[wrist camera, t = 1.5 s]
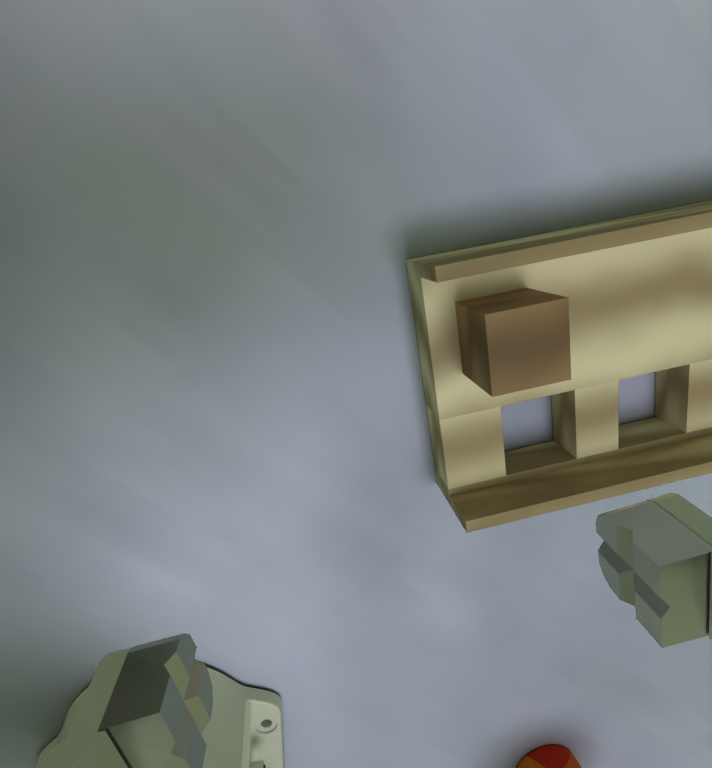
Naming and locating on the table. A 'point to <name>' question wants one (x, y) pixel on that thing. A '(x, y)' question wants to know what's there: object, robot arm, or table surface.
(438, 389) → the trap track
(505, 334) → the walnut block
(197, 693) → the robot arm
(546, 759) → the coffee cup
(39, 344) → the table surface
